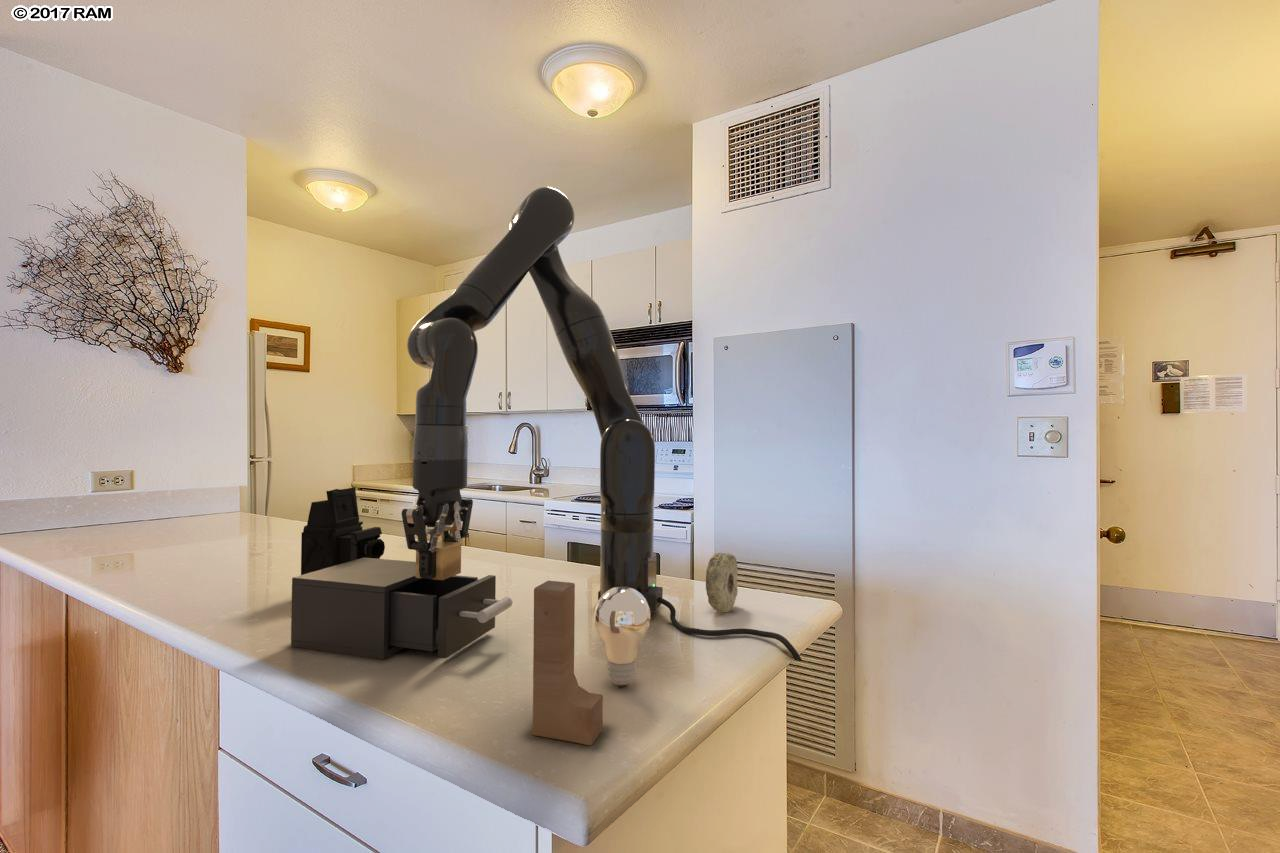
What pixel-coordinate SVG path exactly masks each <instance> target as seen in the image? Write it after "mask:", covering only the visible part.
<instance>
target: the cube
mask: <svg viewBox="0 0 1280 853" xmlns="http://www.w3.org/2000/svg"><path fill="white" fill-rule="evenodd" d="M434 552H436V576H435V578H432V579H433V580H445V579H447V578H449V577H452V576H454V575H459V574H462V542H460V543H458V542H445V541H442V540H438V541H437V546H436V550H435V551H434ZM415 562H416V578H421V577H420V574H419V552H418V551H417V550H415Z"/></svg>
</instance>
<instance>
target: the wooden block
mask: <svg viewBox="0 0 1280 853" xmlns="http://www.w3.org/2000/svg"><path fill="white" fill-rule="evenodd" d="M575 602H576V584H575V583H574V582H568V581H558V580H546V581H545V582H542V583H541V584H539V585H537V586H535V587H534V589H533V651H532V652H533V655H532V656H533V658H532V659H533V660H532V661H533V663H532V664H533V665H532V678H533V679H532V731H531V732H532V736H537V737H542V738H549V739H554V740H560V741H565V742H571V743H577V744H580V745H586V746H592V745H593V744H594V742H595V741H596V740H597V739H598V737H599V735H600V734H601V733H602V732H603V728H604V723H603V722H604V695H603V694H600V693H594V692H589V691H587V690H586V689H584V688H583V687H581V686H580V685H579V682H578V680H577V678H576V675H575V619H576V618H575V616H576V614H575V612H576V611H575V610H576V609H575V606H576V605H575V604H576V603H575Z"/></svg>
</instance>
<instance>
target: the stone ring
mask: <svg viewBox="0 0 1280 853" xmlns="http://www.w3.org/2000/svg"><path fill="white" fill-rule="evenodd" d="M738 574H739V573H738V563H737V558H736V557H735V556H734V555H733V554H732V553H729V552H717V553H715V554H713V555H712V557H710V559H709V561H708V563H707V567H706V572H705V589H706V590H705V591H706V595H707V599H708V600H707V602H708V604H709V605H710V607H711V608H712V609H713V610H714V611H717V612H721V613H728V612H731V611H732V608H733V607H734V605H735V603H736V598H737V596H738V592H739V590H738Z"/></svg>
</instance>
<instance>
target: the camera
mask: <svg viewBox="0 0 1280 853" xmlns="http://www.w3.org/2000/svg"><path fill="white" fill-rule="evenodd" d="M306 522H307V523H306V525H304V526H303V530H302V532H301V546H300V547H301V549H300V551H301V552H300V575H304V574H307V573H311V572H314V571H318V570H321V569H325V568H328V567H332V566H335V565H339V564H343V563H346V562H350V561H353V560H357V559H360V558H376V559H381V557H382V556H383V555H384V553H385V547H386V545H385V542H384V540H382V539H381V535H382V534H383V532H382V528H381V527H380V526H373V527H370V528H365V529H363V526H362V525H363V524H364V521H360V516H359V507H358V500H357V491H356V486H355V487H349V488H341V489H339V488H334V489H331V490H326V499H325V500H319V501H311V504H310V509H309V513H308V518H307V521H306Z"/></svg>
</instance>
